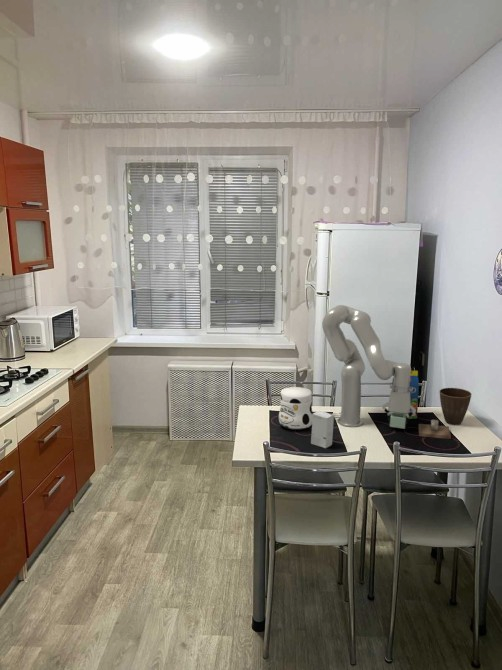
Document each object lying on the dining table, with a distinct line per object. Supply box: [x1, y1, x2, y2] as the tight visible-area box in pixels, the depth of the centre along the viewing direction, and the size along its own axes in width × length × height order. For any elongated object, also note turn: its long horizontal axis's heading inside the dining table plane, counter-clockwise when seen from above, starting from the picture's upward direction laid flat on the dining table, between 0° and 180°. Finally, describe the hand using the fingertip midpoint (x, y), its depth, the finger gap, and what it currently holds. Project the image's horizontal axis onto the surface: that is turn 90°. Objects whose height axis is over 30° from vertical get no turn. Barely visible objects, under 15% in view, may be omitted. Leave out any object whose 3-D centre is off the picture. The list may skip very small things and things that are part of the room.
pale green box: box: [389, 412, 406, 429], centre depth 250 cm, size 7×7×5 cm
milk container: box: [278, 386, 314, 431], centre depth 255 cm, size 17×17×18 cm
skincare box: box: [310, 410, 335, 449], centre depth 233 cm, size 8×6×15 cm
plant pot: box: [439, 387, 472, 426], centre depth 257 cm, size 15×15×16 cm
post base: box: [418, 419, 452, 440], centre depth 246 cm, size 14×12×6 cm
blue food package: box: [391, 370, 420, 420], centre depth 264 cm, size 6×12×25 cm, turn 88°
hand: (397, 423), depth 250 cm, fingers closed on pale green box, 7 cm apart
